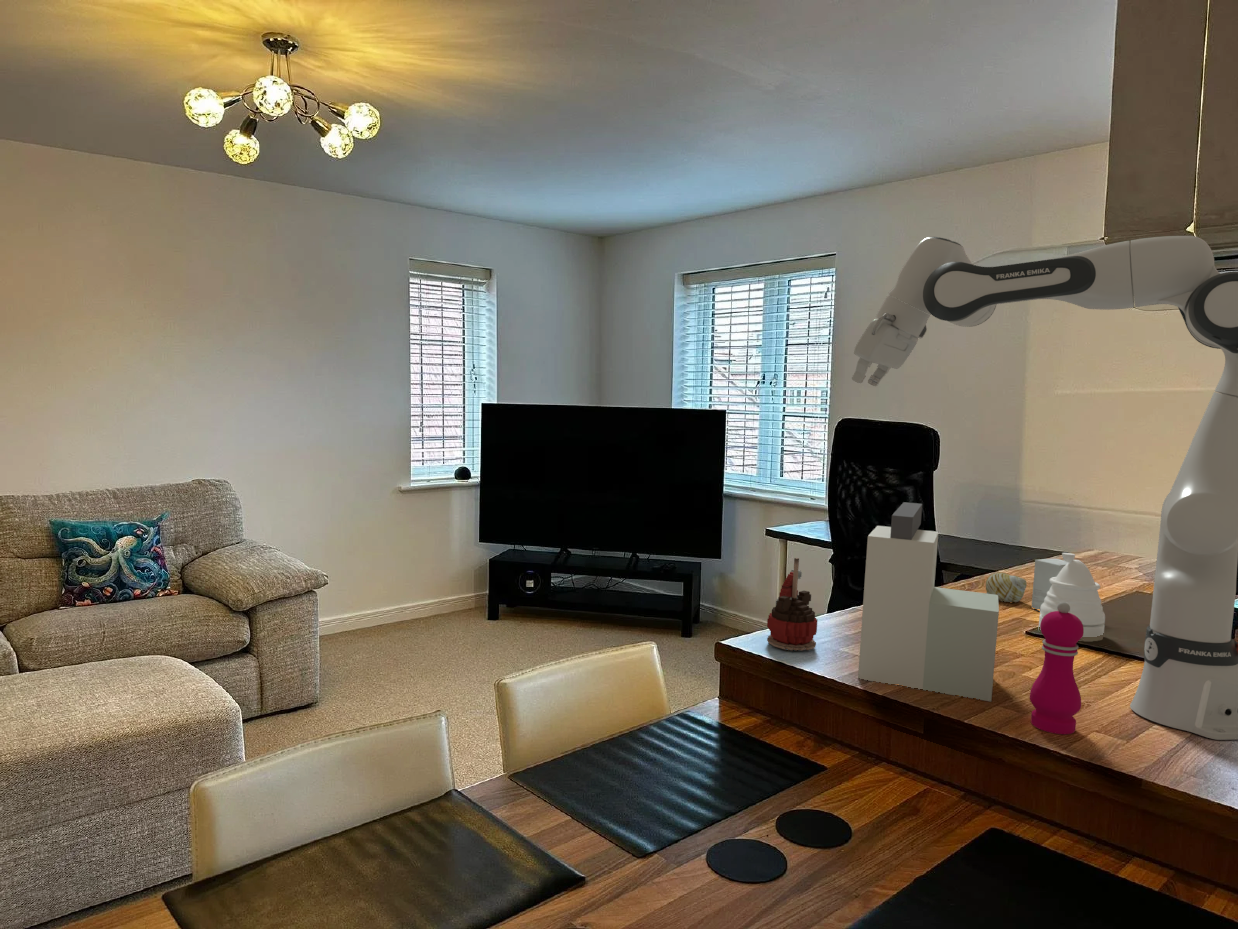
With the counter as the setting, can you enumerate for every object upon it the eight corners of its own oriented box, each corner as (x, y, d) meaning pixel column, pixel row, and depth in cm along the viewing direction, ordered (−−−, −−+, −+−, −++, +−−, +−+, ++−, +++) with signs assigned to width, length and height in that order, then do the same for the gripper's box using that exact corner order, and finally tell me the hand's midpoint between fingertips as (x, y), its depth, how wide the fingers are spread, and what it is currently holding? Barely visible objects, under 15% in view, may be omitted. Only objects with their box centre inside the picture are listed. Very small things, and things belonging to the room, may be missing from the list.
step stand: (868, 657, 165) (877, 525, 163) (991, 677, 156) (1002, 538, 154) (857, 678, 152) (867, 535, 150) (991, 701, 143) (1004, 550, 141)
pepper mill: (1085, 738, 129) (1097, 610, 127) (1034, 733, 131) (1045, 605, 129) (1070, 721, 136) (1081, 599, 134) (1022, 715, 138) (1032, 594, 136)
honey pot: (1055, 640, 183) (1062, 558, 182) (1028, 624, 196) (1035, 547, 194) (1115, 643, 183) (1123, 561, 181) (1084, 627, 196) (1091, 550, 194)
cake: (796, 657, 163) (802, 565, 162) (756, 645, 170) (761, 557, 168) (825, 647, 171) (831, 559, 169) (785, 636, 177) (791, 551, 176)
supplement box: (1077, 614, 207) (1082, 563, 206) (1054, 616, 204) (1059, 565, 203) (1051, 607, 214) (1056, 557, 213) (1029, 608, 211) (1034, 558, 210)
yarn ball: (988, 589, 228) (1009, 560, 224) (1019, 613, 221) (1041, 583, 217) (970, 592, 221) (991, 561, 217) (1001, 616, 215) (1023, 585, 211)
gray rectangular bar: (902, 522, 169) (903, 502, 169) (920, 523, 168) (922, 503, 167) (890, 537, 149) (891, 515, 148) (911, 540, 147) (912, 517, 147)
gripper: (899, 318, 151) (860, 387, 155) (929, 332, 168) (893, 393, 172) (869, 303, 154) (831, 371, 158) (901, 318, 171) (866, 379, 175)
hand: (864, 383), depth 165 cm, fingers open, 8 cm apart
